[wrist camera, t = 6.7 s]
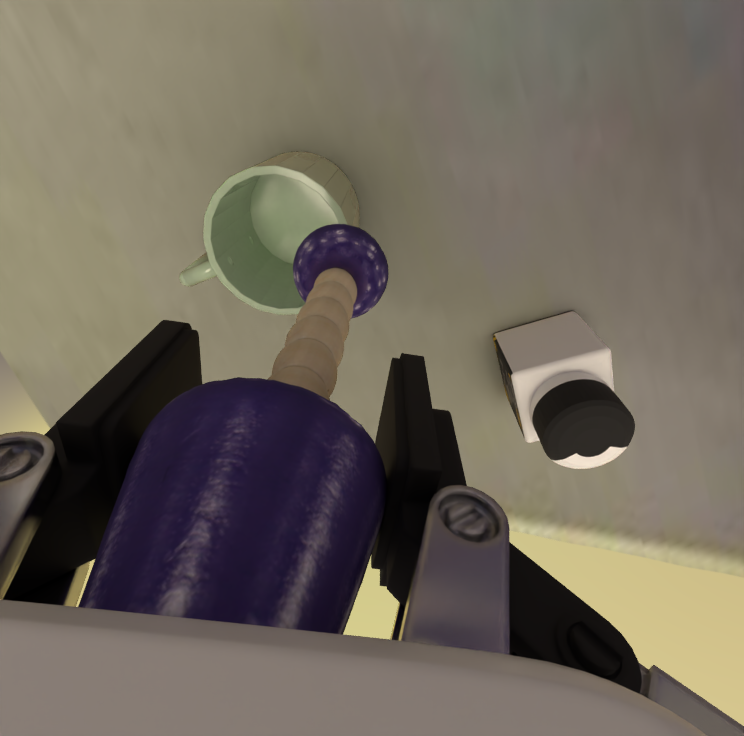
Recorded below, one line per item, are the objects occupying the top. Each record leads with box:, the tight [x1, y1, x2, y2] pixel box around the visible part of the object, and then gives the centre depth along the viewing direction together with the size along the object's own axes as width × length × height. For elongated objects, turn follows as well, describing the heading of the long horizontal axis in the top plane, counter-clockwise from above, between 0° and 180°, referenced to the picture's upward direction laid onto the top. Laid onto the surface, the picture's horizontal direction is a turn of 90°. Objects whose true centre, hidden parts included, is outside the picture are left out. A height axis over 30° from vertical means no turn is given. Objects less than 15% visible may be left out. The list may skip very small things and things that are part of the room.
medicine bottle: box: [493, 311, 635, 469], centre depth 34 cm, size 7×7×12 cm
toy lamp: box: [78, 224, 388, 635], centre depth 12 cm, size 5×5×17 cm
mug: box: [179, 151, 360, 315], centre depth 30 cm, size 12×9×9 cm
